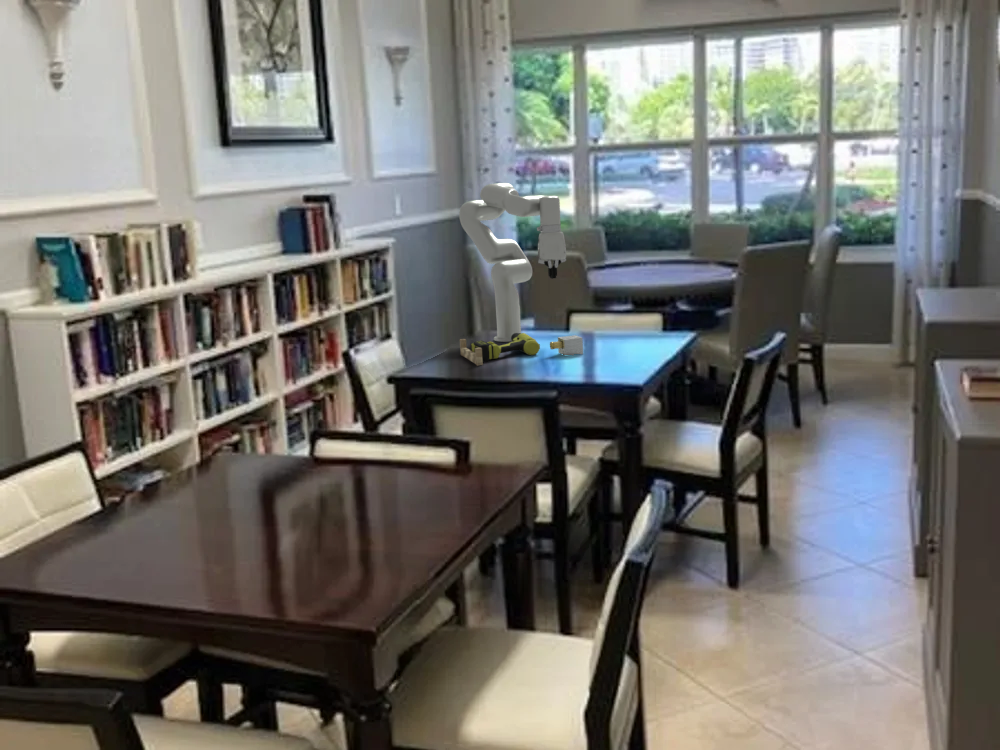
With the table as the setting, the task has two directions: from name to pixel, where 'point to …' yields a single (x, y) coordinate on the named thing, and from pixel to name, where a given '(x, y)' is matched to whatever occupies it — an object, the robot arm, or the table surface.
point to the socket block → (571, 345)
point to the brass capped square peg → (556, 345)
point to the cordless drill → (507, 346)
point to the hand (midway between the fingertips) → (552, 278)
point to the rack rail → (471, 353)
